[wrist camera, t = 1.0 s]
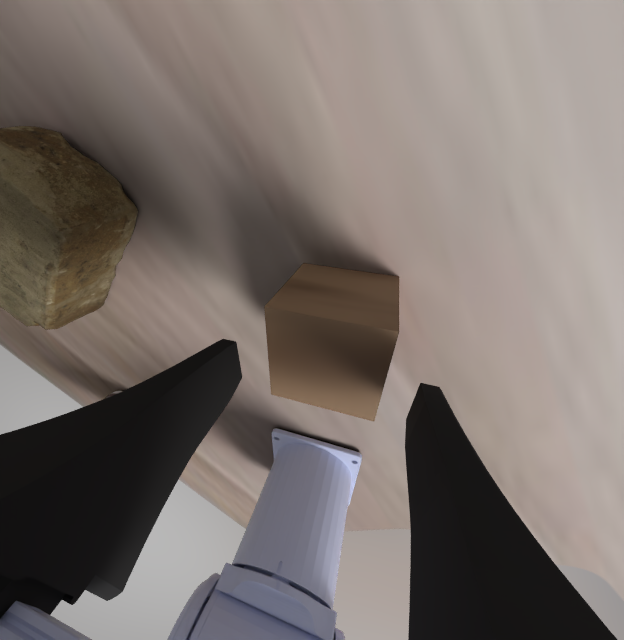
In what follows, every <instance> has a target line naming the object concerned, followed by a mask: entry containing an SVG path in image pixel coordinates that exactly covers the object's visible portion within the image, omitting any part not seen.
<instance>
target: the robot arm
mask: <svg viewBox="0 0 624 640" xmlns="http://www.w3.org/2000/svg"><path fill="white" fill-rule="evenodd" d="M241 379H242V373H241V367H240V361H239V355H238V349H237V343H236V342H235V341H230V340H226V339H222V340H220V341H218V342H216V343H214V344H212V345H211V346H209V347H207V348H205V349H203V350H202V351H200V352H198V353H196V354H195V355H193V356H191V357H189V358H187V359H186V360H184V361H182V362H180V363H178V364H176V365H175V366H173V367H171V368H169V369H167V370H165V371H163V372H161V373H159V374H157V375H155V376H153V377H151V378H150V379H148V380H146V381H144V382H142V383H140V384H137V385H135V386H133V387H131V388H129V389H127V390H124V391H122V392H120V393H117V394H115V395H113V396H111V397H108V398H106V399H103V400H101V401H98V402H96V403H93V404H91V405H88V406H85V407H83V408H80V409H77V410H75V411H72V412H69V413H67V414H64V415H61V416H58V417H55V418H52V419H49V420H46V421H43V422H40V423H37V424H34V425H31V426H28V427H25V428H21V429H18V430H15V431H12V432H8V433H5V434H1V435H0V640H92V639H90V638H88V637H86V636H85V635H83V634H81V633H79V632H78V631H76V630H74V629H73V628H71V627H69V626H68V625H66V624H64V623H62V622H60V621H59V620H57V619H55V618H54V617H52V616H50V614H51V613H52V612H53V610H54V609H55V608H56V606H57V605H58V604H59V602H60V601H61V600H64V601H66V602H67V603H69V604H71V605H73V604H74V603H75V602H76V601H77V600H78V598H79V597H80V596H81V594H82V593H83V592H84V590H87V591H89V592H91V593H93V594H95V595H97V596H99V597H101V598H103V599H105V600H106V601H108V600H110V599H112V598H114V597H116V596H117V595H119V594H120V593H121V592H122V591H123V590H124V587H125V585H126V582H127V581H128V578H129V576H130V574H131V572H132V570H133V568H134V565H135V563H136V561H137V559H138V557H139V555H140V553H141V551H142V548H143V546H144V544H145V542H146V540H147V538H148V536H149V534H150V532H151V530H152V528H153V526H154V524H155V522H156V520H157V518H158V516H159V514H160V512H161V510H162V508H163V506H164V505H165V503H166V501H167V499H168V497H169V495H170V494H171V492H172V490H173V488H174V486H175V484H176V483H177V481H178V479H179V477H180V475H181V474H182V472H183V470H184V468H185V467H186V465H187V463H188V461H189V460H190V458H191V456H192V455H193V453H194V452H195V450H196V449H197V447H198V446H199V444H200V443H201V441H202V440H203V439H204V437H205V436H206V434H207V433H208V431H209V430H210V428H211V427H212V426H213V424H214V423H215V421H216V420H217V418H218V417H219V416H220V414H221V413H222V411H223V410H224V408H225V407H226V405H227V404H228V402H229V401H230V399H231V398H232V396H233V394H234V392H235V390H236V389H237V387H238V385H239V383H240V381H241ZM272 444H273V455H274V462H273V465H272V467H271V470H270V472H269V475H268V477H267V479H266V482H265V484H264V487H263V489H262V492H261V494H260V497H259V499H258V502H257V504H256V506H255V509H254V511H253V514H252V516H251V519H250V521H249V524H248V526H247V528H246V531H245V533H244V536H243V538H242V541H241V543H240V546H239V548H238V551H237V553H236V555H235V558H234V560H233V563H232V565H231V564H228V563H226V564H225V566H224V568H223V571H222V573H221V575H219V574H217V573H215V574H213V575H211V576H210V577H209V578H208V579H207V580H205V581H204V582H202V583H201V584H200V585H199V586H198V588H197V589H196V590H195V591H194V593H193V594H192V596H191V597H190V599H189V600H188V602H187V603H186V605H185V607H184V609H183V611H182V612H181V614H180V616H179V618H178V619H177V621H176V624H175V625H174V627H173V629H172V631H171V633H170V635H169V638H168V640H345V636H344V634H343V632H342V631H341V630H339V629H337V628H335V624H336V617H337V613H336V612H335V611H334V610H333V603H334V596H335V589H336V582H337V576H338V569H339V562H340V554H341V548H342V541H343V534H344V528H345V521H346V514H347V507H348V506H349V504H350V501H351V497H352V493H353V490H354V486H355V482H356V479H357V475H358V471H359V468H360V464H361V460H362V455H361V454H360V453H359V452H356V451H353V450H349V449H346V448H342V447H339V446H336V445H332V444H329V443H325V442H322V441H319V440H315V439H312V438H308V437H305V436H301V435H298V434H295V433H291V432H288V431H284V430H281V429H277V428H275V429H273V431H272ZM405 452H406V467H407V480H408V494H409V507H410V523H411V573H410V613H409V640H617V639H616V637H615V636H614V635H613V634H612V633H611V632H610V631H609V630H608V628H607V627H606V626H605V625H604V623H603V622H602V621H601V620H600V618H599V617H598V616H597V615H596V614H595V612H594V611H593V610H592V609H591V607H590V606H589V605H588V604H587V603H586V601H585V600H584V599H583V598H582V597H581V595H580V594H579V593H578V592H577V590H576V589H575V588H574V587H573V586H572V584H571V583H570V582H569V581H568V580H567V578H566V577H565V576H564V575H563V573H562V572H561V571H560V570H559V569H558V567H557V566H556V565H555V564H554V562H553V561H552V560H551V558H550V557H549V556H548V555H547V553H546V552H545V551H544V549H543V548H542V547H541V545H540V544H539V543H538V541H537V540H536V539H535V538H534V536H533V535H532V534H531V532H530V531H529V530H528V528H527V527H526V525H525V524H524V523H523V521H522V520H521V519H520V517H519V516H518V515H517V513H516V512H515V510H514V509H513V508H512V506H511V505H510V503H509V502H508V500H507V499H506V498H505V496H504V495H503V493H502V492H501V490H500V489H499V487H498V486H497V484H496V483H495V481H494V480H493V478H492V477H491V475H490V474H489V472H488V471H487V469H486V467H485V466H484V464H483V463H482V461H481V460H480V458H479V456H478V455H477V453H476V451H475V450H474V448H473V446H472V445H471V443H470V441H469V440H468V438H467V436H466V435H465V433H464V431H463V429H462V428H461V426H460V424H459V422H458V420H457V419H456V417H455V415H454V413H453V411H452V409H451V408H450V406H449V404H448V402H447V400H446V398H445V396H444V394H443V392H442V390H441V389H440V387H437V386H432V385H428V384H423V383H420V386H419V388H418V391H417V393H416V396H415V398H414V401H413V403H412V406H411V408H410V411H409V413H408V416H407V419H406V437H405Z"/></svg>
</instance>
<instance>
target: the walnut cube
mask: <svg viewBox="0 0 624 640" xmlns="http://www.w3.org/2000/svg"><path fill="white" fill-rule="evenodd" d="M264 309H265V321H266V334H267V346H268V359H269V371H270V384H271V394H272V395H276V396H280V397H283V398H287V399H291V400H295V401H299V402H302V403H306V404H310V405H314V406H317V407H321V408H325V409H329V410H333V411H336V412H340V413H344V414H348V415H351V416H355V417H359V418H363V419H367V420H370V421H374V420H375V416H376V413H377V409H378V406H379V402H380V398H381V395H382V391H383V388H384V384H385V380H386V377H387V373H388V370H389V366H390V363H391V359H392V355H393V352H394V348H395V345H396V341H397V337H398V334H399V276H392V275H385V274H377V273H370V272H363V271H356V270H349V269H342V268H334V267H327V266H320V265H313V264H306V263H303V264H302V265H301V267H300V268H299V269H298V270H297V271H296V272H295V273H294V274H293V275H292V277H291V278H290V279H289V280H288V281H287V282H286V283H285V284H284V285H283V287H282V288H281V289H280V290H279V291H278V292H277V293H276V294H275V296H274V297H273V298H272V299H271V300H270V301H269V302H268V303H267V304H266V306H265V307H264Z"/></svg>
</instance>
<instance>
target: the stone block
mask: <svg viewBox="0 0 624 640" xmlns="http://www.w3.org/2000/svg"><path fill="white" fill-rule="evenodd" d="M137 213H138V210H137V208H136V206H135V205H134V203H133V202H132V201H131V200H130V199H129V198H128V197H127V196H126V194H125V193H124V191H123V189H122V186H121V184H120V183H119V182H118V181H117V180H116V178H114V177H113V176H112V175H111V174H110V173H108V172H107V171H106V170H105V169H104V168H103V167H102V166H101V165H99V164H98V163H97V162H95V161H93V160H91V159H89V158H87V157H85V156H83V155H82V154H81V153H80V152H78V151H77V150H75V149H74V148H72V147H71V146H70V145H69V143H68V142H67V141H66V140H65V139H64V137H63V136H62V134H61V133H59V132H56V131H53V130H48V129H43V128H39V127H32V126H16V127H8V128H0V307H1V308H3V309H4V310H6V311H7V312H8V313H10V314H11V315H12V316H13V317H14V318H16V319H17V320H19V321H20V322H22V323H23V324H24V325H26V326H42V327H43V328H44V329H45V330H48V329H58V328H60V327H62V326H64V325H66V324H68V323H70V322H72V321H74V320H76V319H78V318H80V317H82V316H84V315H86V314H89V313H91V312H94V311H96V310H97V309H99V308H100V307H101V306H103V304H104V301H105V299H106V298H107V296H108V292H109V289H110V286H111V282H112V280H113V279H114V277H115V269H116V265H117V263H118V262H119V261H120V260H121V259H122V255H123V251H124V249H125V247H126V245H127V244H128V242H129V241H130V238H131V236H132V234H133V231H134V227H135V223H136V218H137Z"/></svg>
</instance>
